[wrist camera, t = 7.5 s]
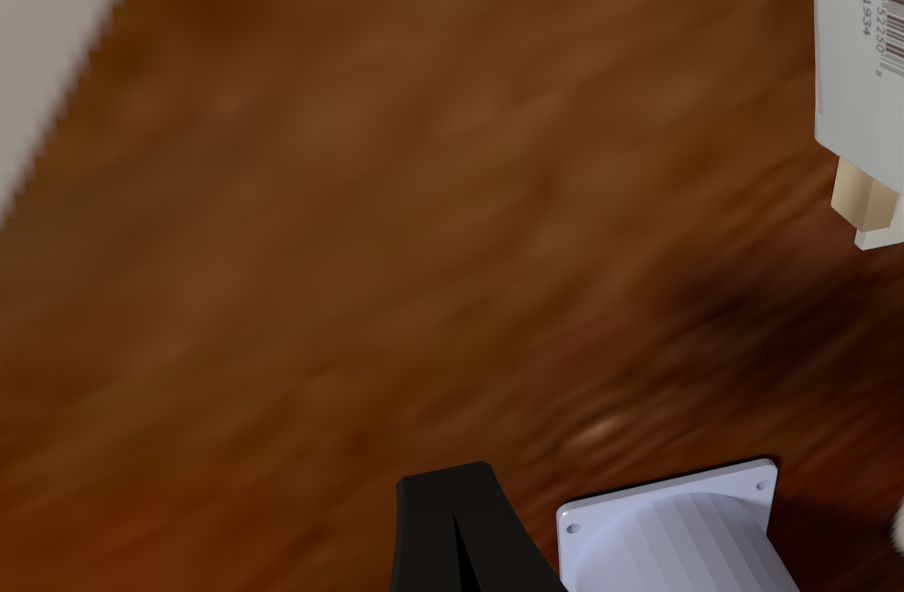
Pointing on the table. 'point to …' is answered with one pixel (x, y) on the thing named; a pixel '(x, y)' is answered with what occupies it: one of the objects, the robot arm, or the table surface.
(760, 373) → the table surface
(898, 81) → the small box
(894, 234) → the mat
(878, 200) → the oak strip
